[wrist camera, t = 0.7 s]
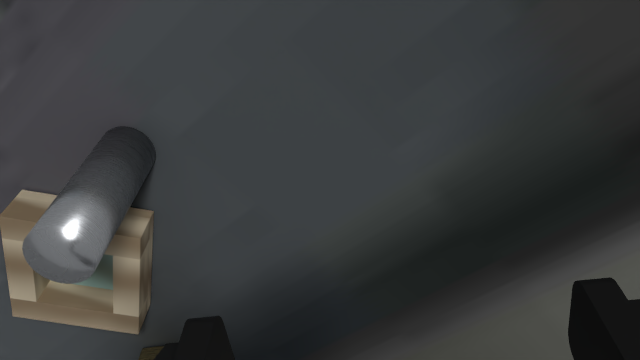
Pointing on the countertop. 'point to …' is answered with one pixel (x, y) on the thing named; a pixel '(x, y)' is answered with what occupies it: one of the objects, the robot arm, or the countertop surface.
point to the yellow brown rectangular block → (150, 353)
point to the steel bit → (90, 208)
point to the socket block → (95, 292)
